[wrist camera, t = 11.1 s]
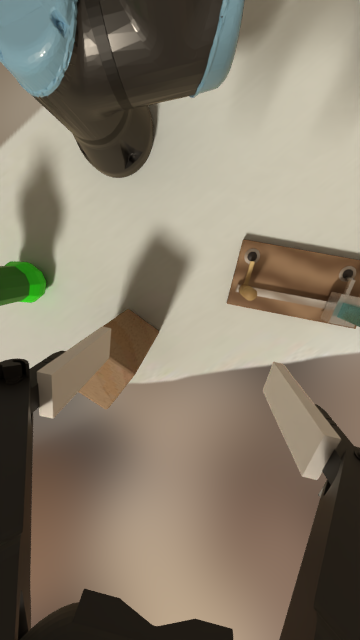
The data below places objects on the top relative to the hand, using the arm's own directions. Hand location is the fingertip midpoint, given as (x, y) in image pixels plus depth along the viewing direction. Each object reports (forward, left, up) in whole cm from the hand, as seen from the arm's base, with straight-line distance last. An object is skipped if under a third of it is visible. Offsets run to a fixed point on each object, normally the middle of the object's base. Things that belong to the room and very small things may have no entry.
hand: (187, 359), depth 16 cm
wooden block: (+14, -14, -33) cm, 38 cm away
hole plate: (-6, +22, -33) cm, 40 cm away
